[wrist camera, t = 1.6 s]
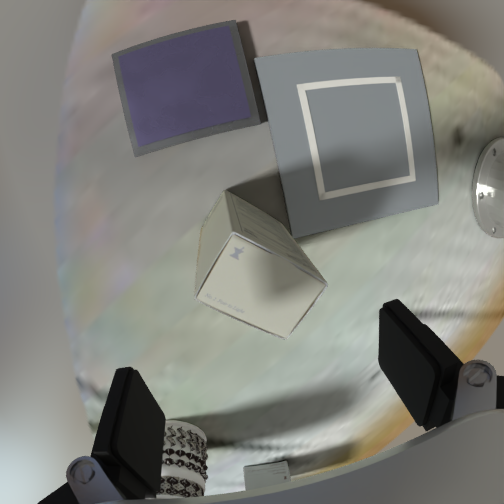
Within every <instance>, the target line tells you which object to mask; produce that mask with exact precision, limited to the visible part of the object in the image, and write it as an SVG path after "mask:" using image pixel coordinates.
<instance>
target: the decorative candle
mask: <svg viewBox="0 0 504 504" xmlns="http://www.w3.org/2000/svg"><path fill="white" fill-rule="evenodd" d="M206 441H207V438H206V435H205V433H204V432H203V431H202V430H201V429H200V428H198V427H197V426H195V425H192V424H190V423H187V422H183V421H177V420H166V423H165V434H164V445H163V458H162V472H161V487H160V490H159V491H157V495H156V498H145V499H172V498H188V497H200V496H204V492H205V483H206V480H207V478H208V476H207V475H206V470H207V468H208V467H207V466H206V460H207V458H208V455H207V454H206V451H207V449H208V447H207V445H206Z"/></svg>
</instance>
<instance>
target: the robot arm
mask: <svg viewBox="0 0 504 504" xmlns="http://www.w3.org/2000/svg"><path fill="white" fill-rule="evenodd" d="M472 200H473V209H474V213H475V217H476V219H477V222H478V224H479V226H480V227H481V229H482V230H483V231H484V232H485V233H486V234H488V235H490V236H492V237H495V238H504V137H502V138H496V139H494V140H492V141H491V142H490V143H489V144H488V145H487V146H486V147H485V149H484V150H483V152H482V153H481V155H480V157H479V160H478V163H477V165H476V169H475V173H474V178H473V186H472ZM378 361H379V365H380V367H381V369H382V371H383V372H384V374H385V375H386V377H387V378H388V380H389V381H390V383H391V384H392V386H393V387H394V389H395V390H396V392H397V394H398V395H399V397H400V398H401V400H402V401H403V403H404V404H405V406H406V408H407V409H408V411H409V412H410V414H411V415H412V417H413V419H414V420H415V422H416V423H417V425H418V426H423V427H424V429H425V430H426V431H428V430H430V429H432V428H434V427H436V428H435V429H433V430H431V431H429V432H427V433H425V434H423V435H421V436H419V437H416V438H414V439H412V440H410V441H408V442H406V443H403V444H401V445H398V446H396V447H394V448H391V449H389V450H387V451H384V452H382V453H379V454H377V455H374V456H371V457H369V458H366V459H363V460H361V461H358V462H355V463H352V464H349V465H346V466H343V467H340V468H337V469H334V470H331V471H327V472H324V473H321V474H317V475H314V476H310V477H306V478H303V479H299V480H295V481H291V482H286V483H282V484H278V485H273V486H268V487H263V488H258V489H252V490H246V491H240V492H233V493H226V494H219V495H210V496H200V497H188V498H172V499H145V498H156V495H157V491H159V490H160V487H161V472H162V458H163V445H164V434H165V423H166V419H165V415H164V413H163V411H162V410H161V408H160V407H159V405H158V403H157V402H156V400H155V399H154V397H153V395H152V394H151V392H150V390H149V389H148V387H147V385H146V384H145V382H144V380H143V379H142V377H141V375H140V374H139V372H138V371H137V370H134V369H133V368H132V367H125V368H118V369H117V370H116V372H115V375H114V378H113V381H112V384H111V387H110V391H109V394H108V397H107V401H106V404H105V406H104V409H103V412H102V416H101V419H100V423H99V426H98V430H97V434H96V437H95V441H94V445H93V449H92V453H91V457H89V456H82V457H79V458H77V459H75V460H74V461H72V463H71V464H70V465H69V466H68V469H67V471H66V477H67V481H68V482H67V483H65V484H64V485H62V486H61V487H60V488H58V489H57V490H56V491H54V492H53V493H51V494H50V495H48V496H47V497H46V498H44V499H43V500H41V501H40V502H39V503H38V504H504V376H497V375H496V370H495V369H494V367H493V366H492V365H491V364H490V363H488V362H486V361H483V360H471V361H468V362H467V363H465V364H463V363H462V362H461V361H460V359H459V358H458V357H457V356H456V355H455V354H454V353H453V352H452V351H451V350H450V349H449V348H448V347H447V346H446V345H445V343H444V342H443V341H442V340H441V339H440V338H439V337H438V336H437V335H436V334H435V333H434V332H433V331H432V330H431V329H430V328H429V327H428V326H427V325H425V324H423V323H422V322H421V321H420V320H419V319H418V318H417V317H416V316H415V315H414V314H413V313H412V312H411V311H410V310H409V309H408V308H407V307H406V306H405V305H404V304H403V303H402V302H401V301H400V300H398V299H395V300H392V301H389V302H386V303H384V304H383V308H381V309H380V310H379V355H378Z"/></svg>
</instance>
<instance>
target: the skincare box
mask: <svg viewBox="0 0 504 504" xmlns="http://www.w3.org/2000/svg"><path fill="white" fill-rule="evenodd" d="M327 287H328V284H327V282H326V281H325V279H324V278H323V277H322V275H321V274H320V273H319V271H318V270H317V269H316V267H315V266H314V265H313V263H312V262H311V261H310V259H309V258H308V257H307V255H306V254H305V253H304V251H303V250H302V249H301V248H300V246H299V245H298V244H297V242H296V241H295V240H294V238H293V237H292V236H291V235H290V233H289V232H288V231H287V229H286V228H285V227H284V226H283V224H282V223H281V222H279V221H278V220H276V219H274V218H273V217H271V216H270V215H268V214H267V213H265V212H263V211H262V210H260V209H258V208H257V207H255V206H253V205H251V204H250V203H248V202H246V201H245V200H243V199H241V198H239V197H238V196H236V195H234V194H232V193H230V192H229V191H227V190H224V191H223V193H222V194H221V196H220V197H219V199H218V200H217V202H216V204H215V205H214V207H213V209H212V210H211V212H210V214H209V215H208V217H207V219H206V221H205V223H204V225H203V226H202V228H201V232H200V240H199V249H198V258H197V269H196V279H195V293H194V298H195V300H197V301H199V302H200V303H202V304H204V305H206V306H208V307H210V308H212V309H214V310H216V311H218V312H220V313H222V314H225V315H227V316H229V317H231V318H233V319H235V320H238V321H240V322H243V323H245V324H247V325H249V326H251V327H254V328H256V329H259V330H261V331H264V332H266V333H268V334H271V335H273V336H276V337H279V338H281V339H284V340H285V339H287V338H288V337H289V336H290V335H291V334H292V332H293V331H294V330H295V329H296V327H297V326H298V325H299V324H300V322H301V321H302V320H303V319H304V317H305V316H306V315H307V314H308V312H309V311H310V310H311V309H312V307H313V306H314V305H315V303H316V302H317V301H318V299H319V298H320V297H321V295H322V294H323V293H324V291H325V290H326V288H327Z"/></svg>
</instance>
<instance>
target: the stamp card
mask: <svg viewBox="0 0 504 504" xmlns="http://www.w3.org/2000/svg"><path fill="white" fill-rule="evenodd" d="M254 63H255V68H256V72H257V76H258V80H259V84H260V88H261V92H262V97H263V101H264V105H265V110H266V114H267V118H268V123H269V127H270V132H271V136H272V141H273V145H274V150H275V155H276V159H277V164H278V169H279V174H280V179H281V184H282V188H283V193H284V198H285V204H286V209H287V214H288V219H289V224H290V230H291V235H292V237H293V238H294V239H295V238H299V237H303V236H307V235H311V234H315V233H320V232H324V231H328V230H332V229H336V228H340V227H345V226H349V225H353V224H357V223H361V222H365V221H369V220H374V219H378V218H382V217H386V216H390V215H395V214H399V213H403V212H407V211H411V210H415V209H420V208H424V207H428V206H432V205H436V204H438V185H437V170H436V159H435V149H434V140H433V132H432V125H431V118H430V112H429V106H428V100H427V94H426V89H425V84H424V79H423V75H422V70H421V66H420V62H419V58H418V54H417V50H416V49H399V48H348V49H329V50H315V51H305V52H295V53H287V54H279V55H272V56H265V57H259V58H254Z"/></svg>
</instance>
